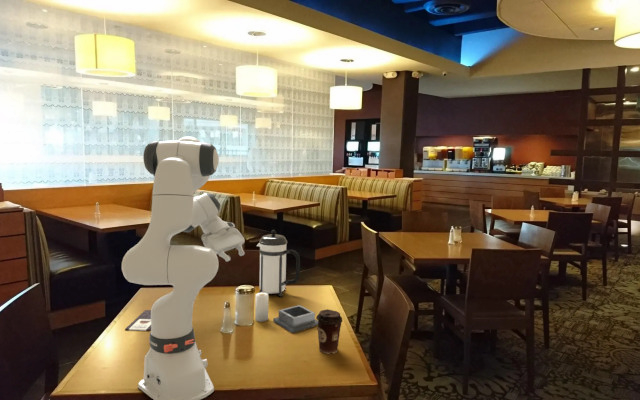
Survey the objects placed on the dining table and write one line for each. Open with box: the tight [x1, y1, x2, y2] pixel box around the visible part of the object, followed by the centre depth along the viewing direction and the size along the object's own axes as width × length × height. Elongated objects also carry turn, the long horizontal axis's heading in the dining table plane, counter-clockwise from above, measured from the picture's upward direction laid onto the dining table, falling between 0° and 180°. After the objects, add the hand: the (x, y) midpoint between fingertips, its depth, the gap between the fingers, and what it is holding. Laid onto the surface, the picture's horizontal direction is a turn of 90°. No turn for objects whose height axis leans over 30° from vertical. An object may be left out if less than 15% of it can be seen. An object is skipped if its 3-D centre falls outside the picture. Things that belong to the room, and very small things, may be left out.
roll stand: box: [272, 304, 318, 334], centre depth 162 cm, size 13×13×5 cm
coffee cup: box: [315, 309, 343, 355], centre depth 141 cm, size 9×8×13 cm
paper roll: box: [254, 292, 269, 323], centre depth 165 cm, size 5×5×10 cm
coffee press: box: [256, 229, 301, 298], centre depth 195 cm, size 17×16×30 cm
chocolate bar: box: [124, 309, 151, 332], centre depth 161 cm, size 9×1×18 cm
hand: (236, 257), depth 168 cm, fingers open, 8 cm apart
